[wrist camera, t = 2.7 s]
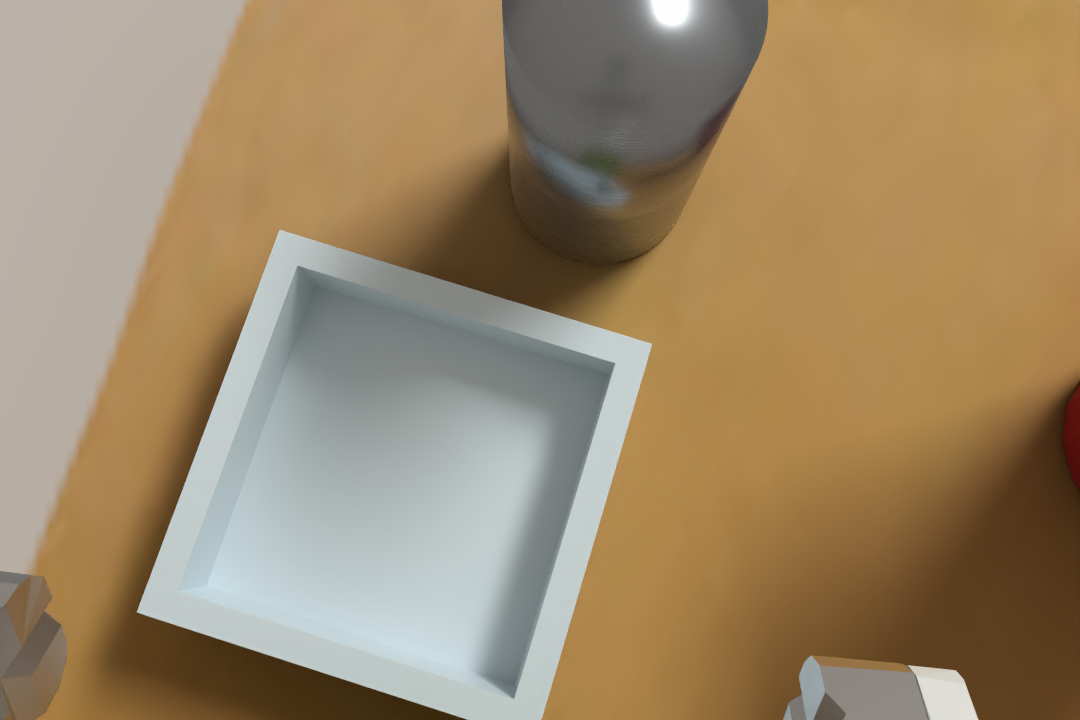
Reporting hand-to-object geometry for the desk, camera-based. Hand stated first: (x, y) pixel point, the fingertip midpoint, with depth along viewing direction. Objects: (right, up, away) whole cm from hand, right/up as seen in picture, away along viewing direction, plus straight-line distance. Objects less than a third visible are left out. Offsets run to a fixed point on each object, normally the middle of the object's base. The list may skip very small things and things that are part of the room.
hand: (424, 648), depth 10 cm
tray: (-2, 0, +17) cm, 18 cm away
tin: (+3, +9, +19) cm, 21 cm away
